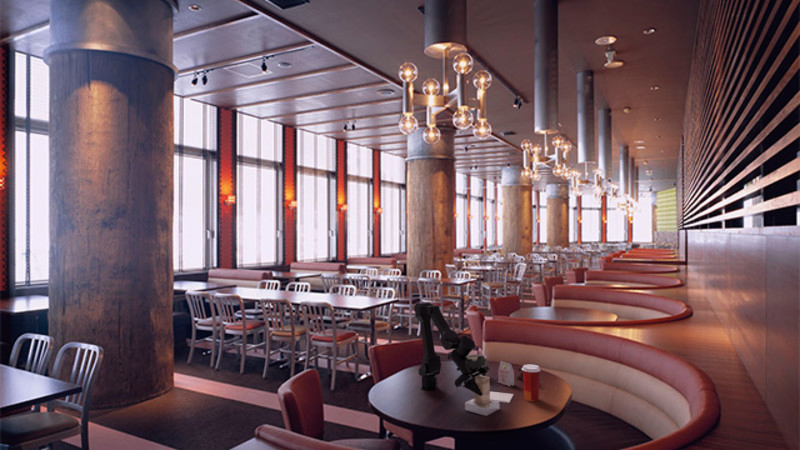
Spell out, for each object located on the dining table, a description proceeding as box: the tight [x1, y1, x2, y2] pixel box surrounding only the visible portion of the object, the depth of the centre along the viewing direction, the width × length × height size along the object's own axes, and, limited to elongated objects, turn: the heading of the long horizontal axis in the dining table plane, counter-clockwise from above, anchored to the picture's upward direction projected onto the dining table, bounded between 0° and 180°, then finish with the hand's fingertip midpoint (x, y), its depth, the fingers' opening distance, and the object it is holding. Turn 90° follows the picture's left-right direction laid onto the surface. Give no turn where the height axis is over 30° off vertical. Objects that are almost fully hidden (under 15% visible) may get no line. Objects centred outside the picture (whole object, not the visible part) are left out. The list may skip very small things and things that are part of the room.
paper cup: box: [521, 364, 541, 402], centre depth 211 cm, size 8×8×14 cm
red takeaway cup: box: [516, 366, 524, 382], centre depth 234 cm, size 7×7×15 cm
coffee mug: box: [467, 353, 488, 377], centre depth 245 cm, size 13×10×10 cm
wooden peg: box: [473, 375, 491, 406], centre depth 200 cm, size 4×4×13 cm
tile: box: [490, 391, 514, 404], centre depth 214 cm, size 14×10×1 cm
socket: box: [464, 398, 500, 417], centre depth 200 cm, size 10×10×3 cm
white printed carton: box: [497, 361, 515, 387], centre depth 232 cm, size 4×7×10 cm, turn 37°
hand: (484, 393), depth 199 cm, fingers closed on wooden peg, 4 cm apart
